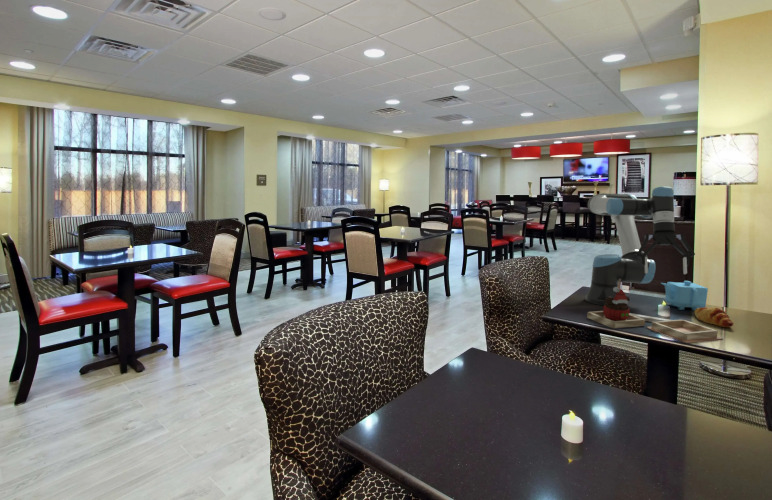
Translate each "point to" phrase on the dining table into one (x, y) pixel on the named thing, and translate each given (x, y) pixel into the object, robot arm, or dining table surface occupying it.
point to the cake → (617, 305)
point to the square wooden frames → (662, 327)
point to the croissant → (713, 316)
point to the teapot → (685, 295)
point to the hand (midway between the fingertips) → (665, 273)
